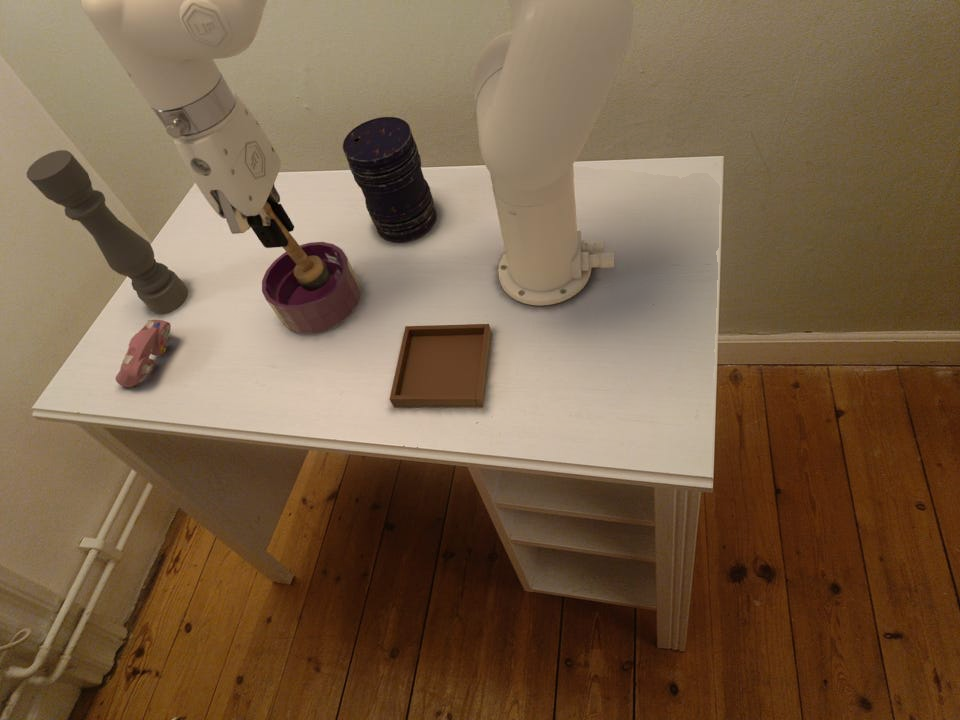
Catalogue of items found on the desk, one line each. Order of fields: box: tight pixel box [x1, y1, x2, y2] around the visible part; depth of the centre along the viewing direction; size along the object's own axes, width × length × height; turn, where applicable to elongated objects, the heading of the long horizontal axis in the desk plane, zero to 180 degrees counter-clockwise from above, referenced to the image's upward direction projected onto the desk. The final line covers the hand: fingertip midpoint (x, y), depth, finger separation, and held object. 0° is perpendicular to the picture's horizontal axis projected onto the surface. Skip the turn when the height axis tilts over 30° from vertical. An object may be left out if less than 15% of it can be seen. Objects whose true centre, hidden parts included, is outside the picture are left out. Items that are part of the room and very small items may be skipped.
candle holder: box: [25, 149, 189, 315], centre depth 85 cm, size 6×6×25 cm
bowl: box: [261, 241, 362, 334], centre depth 86 cm, size 12×12×6 cm
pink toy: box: [115, 319, 171, 388], centre depth 85 cm, size 10×5×7 cm, turn 169°
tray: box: [389, 323, 493, 409], centre depth 77 cm, size 11×11×2 cm
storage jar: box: [342, 116, 438, 244], centre depth 89 cm, size 10×10×15 cm
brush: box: [263, 202, 331, 291], centre depth 77 cm, size 4×4×14 cm
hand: (279, 237), depth 76 cm, fingers closed on brush, 2 cm apart
